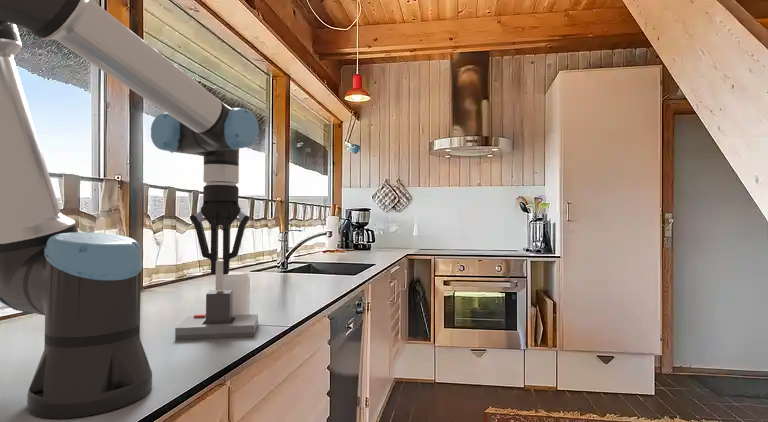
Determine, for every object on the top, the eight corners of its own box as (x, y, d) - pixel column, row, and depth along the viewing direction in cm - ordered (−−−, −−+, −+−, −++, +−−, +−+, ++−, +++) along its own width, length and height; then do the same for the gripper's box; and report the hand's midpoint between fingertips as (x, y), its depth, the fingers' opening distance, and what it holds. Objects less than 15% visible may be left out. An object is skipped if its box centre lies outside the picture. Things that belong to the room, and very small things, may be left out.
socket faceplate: (253, 336, 98) (254, 322, 98) (175, 339, 95) (175, 325, 95) (257, 324, 109) (258, 311, 109) (187, 327, 106) (187, 313, 106)
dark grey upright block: (229, 329, 100) (230, 292, 100) (205, 330, 99) (206, 293, 99) (232, 324, 105) (232, 288, 105) (209, 325, 104) (209, 289, 104)
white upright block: (256, 319, 114) (256, 272, 114) (229, 326, 107) (230, 275, 108) (234, 315, 119) (235, 270, 119) (208, 321, 112) (208, 273, 112)
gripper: (252, 186, 108) (251, 285, 107) (194, 185, 105) (192, 287, 105) (249, 184, 100) (248, 291, 100) (186, 183, 98) (185, 292, 97)
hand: (219, 288), depth 102 cm, fingers closed
